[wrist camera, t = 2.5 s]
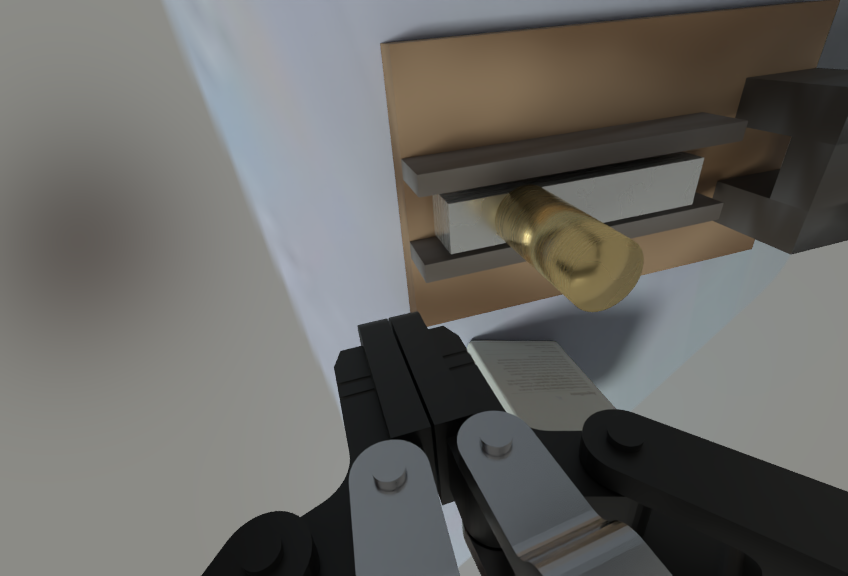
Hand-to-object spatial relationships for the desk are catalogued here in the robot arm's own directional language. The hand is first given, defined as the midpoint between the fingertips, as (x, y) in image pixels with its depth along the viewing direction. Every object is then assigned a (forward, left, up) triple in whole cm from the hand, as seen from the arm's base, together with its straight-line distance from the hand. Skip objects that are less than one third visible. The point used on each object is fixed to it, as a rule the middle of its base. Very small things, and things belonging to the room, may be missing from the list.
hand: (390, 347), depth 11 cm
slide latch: (0, +9, -7) cm, 12 cm away
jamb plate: (0, +13, -10) cm, 16 cm away
